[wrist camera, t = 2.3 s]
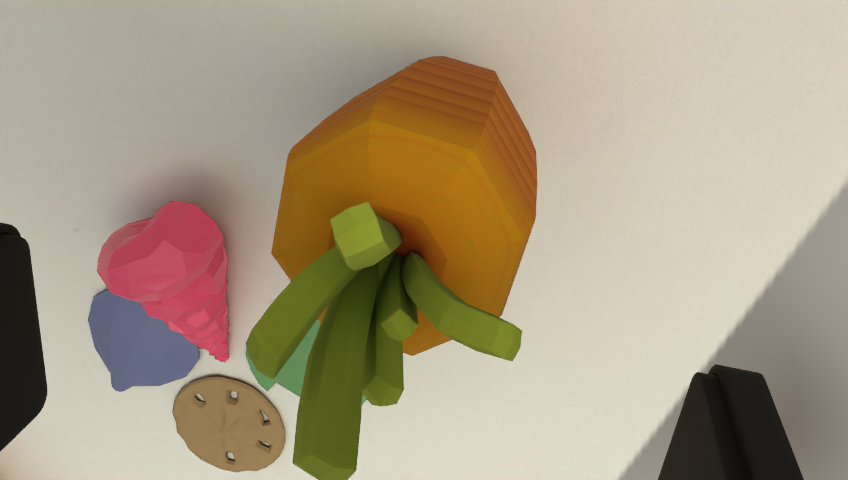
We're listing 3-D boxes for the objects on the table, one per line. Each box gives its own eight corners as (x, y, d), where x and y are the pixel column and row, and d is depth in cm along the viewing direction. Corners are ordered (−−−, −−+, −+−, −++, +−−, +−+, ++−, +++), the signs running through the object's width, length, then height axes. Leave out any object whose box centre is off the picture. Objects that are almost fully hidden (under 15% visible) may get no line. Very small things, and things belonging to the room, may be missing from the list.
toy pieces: (22, 252, 29) (-65, 312, 25) (263, 147, 25) (205, 198, 21) (188, 486, 33) (135, 569, 29) (417, 425, 29) (393, 511, 25)
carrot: (452, -29, 21) (253, 128, 8) (586, 80, 22) (604, 389, 9) (357, 104, 24) (78, 397, 10) (481, 199, 24) (369, 590, 11)
